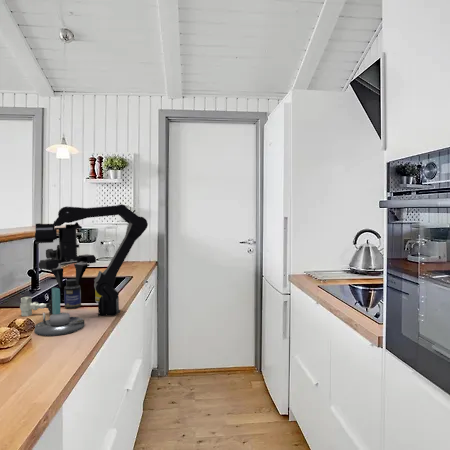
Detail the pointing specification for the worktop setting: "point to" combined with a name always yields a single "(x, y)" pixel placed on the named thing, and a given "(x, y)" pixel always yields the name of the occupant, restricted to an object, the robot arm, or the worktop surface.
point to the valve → (33, 306)
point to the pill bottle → (72, 294)
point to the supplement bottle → (97, 296)
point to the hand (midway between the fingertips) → (69, 285)
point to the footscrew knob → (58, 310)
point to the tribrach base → (59, 327)
